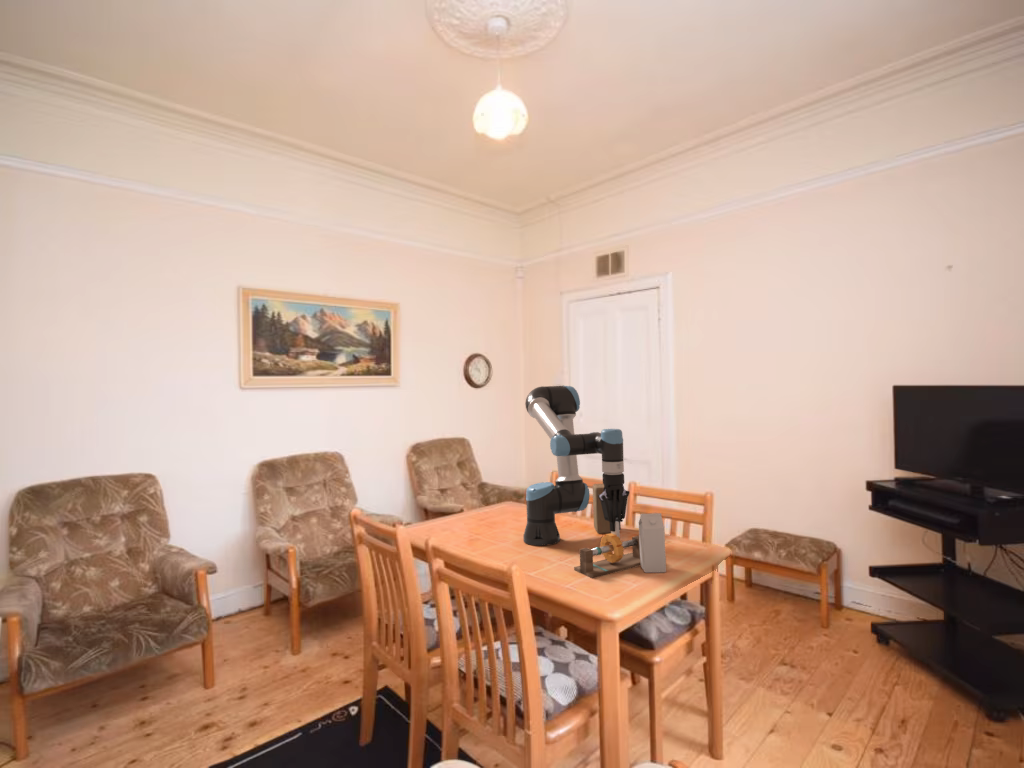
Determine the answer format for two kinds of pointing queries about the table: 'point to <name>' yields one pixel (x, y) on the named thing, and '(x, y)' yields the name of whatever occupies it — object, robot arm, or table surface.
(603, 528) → the wooden block
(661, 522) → the milk carton
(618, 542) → the ring
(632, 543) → the pipe
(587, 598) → the table surface
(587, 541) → the table surface
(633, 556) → the rack
